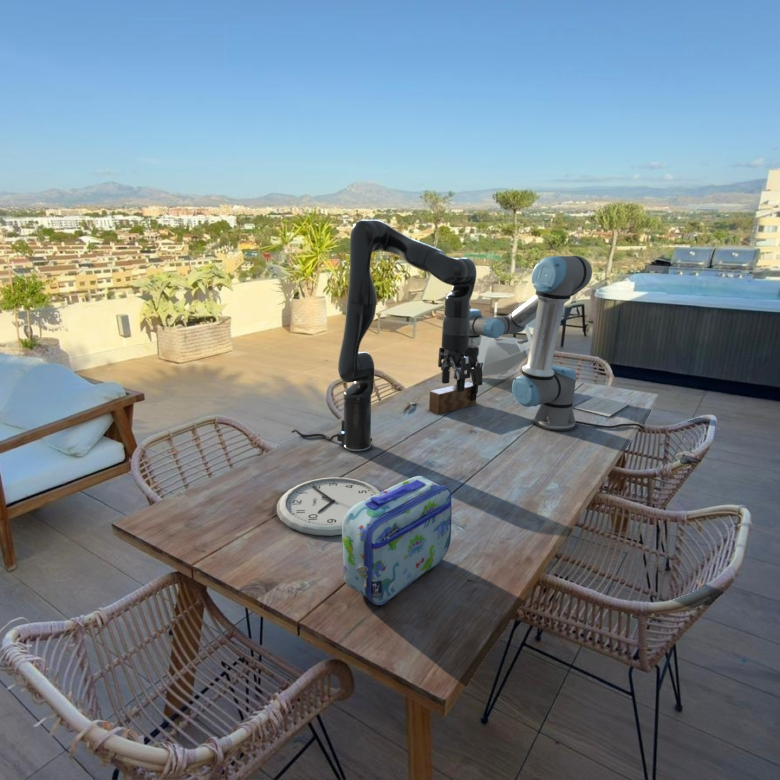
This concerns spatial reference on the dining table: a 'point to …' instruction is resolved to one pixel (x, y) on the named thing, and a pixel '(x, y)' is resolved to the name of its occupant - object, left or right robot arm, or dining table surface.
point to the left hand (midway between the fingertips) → (452, 387)
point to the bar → (450, 399)
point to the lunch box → (395, 537)
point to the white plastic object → (502, 354)
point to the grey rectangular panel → (601, 406)
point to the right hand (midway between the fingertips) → (466, 397)
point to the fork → (411, 403)
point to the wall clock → (322, 504)
